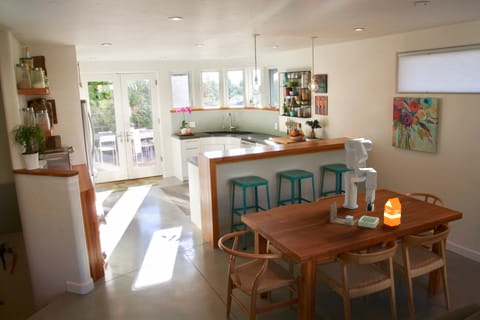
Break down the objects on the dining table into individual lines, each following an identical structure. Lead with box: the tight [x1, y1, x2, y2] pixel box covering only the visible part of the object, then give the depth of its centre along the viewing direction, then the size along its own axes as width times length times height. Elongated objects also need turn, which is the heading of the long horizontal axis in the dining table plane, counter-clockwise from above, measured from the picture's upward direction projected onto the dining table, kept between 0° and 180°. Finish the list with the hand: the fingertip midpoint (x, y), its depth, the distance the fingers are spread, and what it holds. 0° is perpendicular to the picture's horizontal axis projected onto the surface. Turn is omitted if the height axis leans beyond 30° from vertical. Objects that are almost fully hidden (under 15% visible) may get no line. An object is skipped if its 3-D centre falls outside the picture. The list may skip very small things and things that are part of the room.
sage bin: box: [357, 215, 380, 229], centre depth 297 cm, size 14×12×4 cm
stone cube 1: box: [365, 203, 375, 213], centre depth 297 cm, size 4×4×4 cm
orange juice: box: [383, 197, 402, 227], centre depth 296 cm, size 8×9×20 cm
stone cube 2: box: [345, 215, 354, 224], centre depth 301 cm, size 4×4×4 cm
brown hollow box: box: [329, 200, 359, 227], centre depth 302 cm, size 15×17×14 cm
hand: (370, 209), depth 297 cm, fingers closed on stone cube 1, 4 cm apart
